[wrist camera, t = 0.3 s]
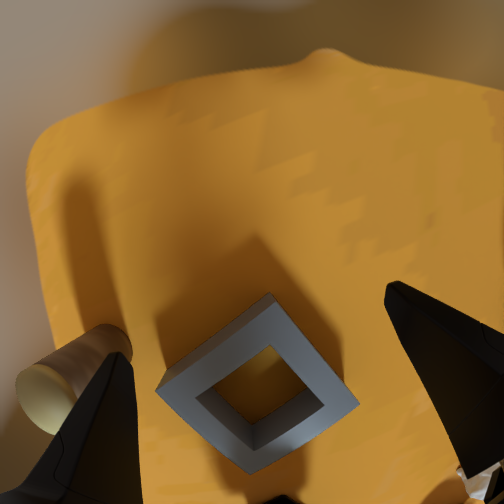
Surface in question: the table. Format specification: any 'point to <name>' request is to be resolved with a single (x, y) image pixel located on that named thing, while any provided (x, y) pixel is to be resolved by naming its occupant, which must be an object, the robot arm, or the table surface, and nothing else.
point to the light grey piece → (477, 482)
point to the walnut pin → (66, 375)
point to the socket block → (235, 355)
